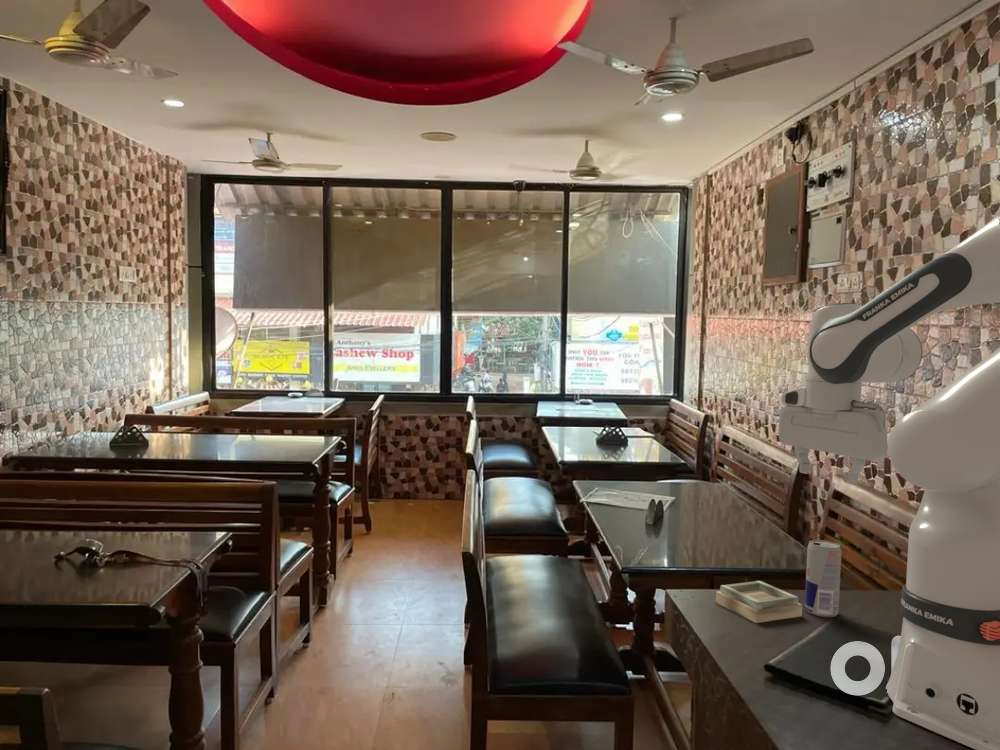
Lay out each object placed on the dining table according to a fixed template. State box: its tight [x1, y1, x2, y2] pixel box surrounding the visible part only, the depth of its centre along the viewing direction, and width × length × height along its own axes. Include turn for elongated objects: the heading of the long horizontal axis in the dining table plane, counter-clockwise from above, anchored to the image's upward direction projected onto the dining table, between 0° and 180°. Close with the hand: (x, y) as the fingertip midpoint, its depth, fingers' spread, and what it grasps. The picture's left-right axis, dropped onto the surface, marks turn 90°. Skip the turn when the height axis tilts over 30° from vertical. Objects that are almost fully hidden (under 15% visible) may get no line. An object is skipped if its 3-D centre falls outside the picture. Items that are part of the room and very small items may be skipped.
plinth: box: [715, 580, 803, 624], centre depth 124 cm, size 10×10×3 cm
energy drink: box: [804, 539, 842, 618], centre depth 124 cm, size 5×5×12 cm
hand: (827, 478), depth 123 cm, fingers open, 8 cm apart
